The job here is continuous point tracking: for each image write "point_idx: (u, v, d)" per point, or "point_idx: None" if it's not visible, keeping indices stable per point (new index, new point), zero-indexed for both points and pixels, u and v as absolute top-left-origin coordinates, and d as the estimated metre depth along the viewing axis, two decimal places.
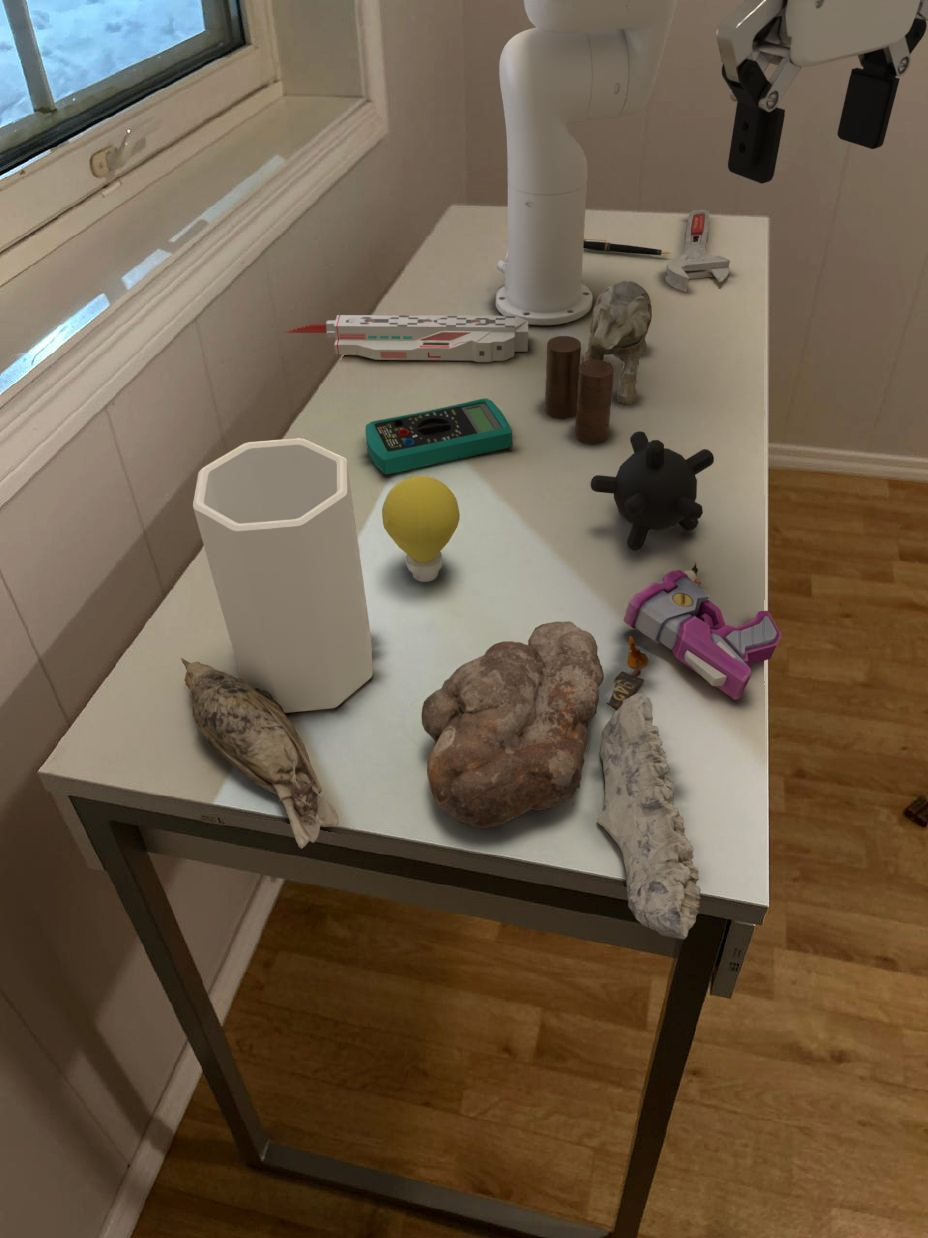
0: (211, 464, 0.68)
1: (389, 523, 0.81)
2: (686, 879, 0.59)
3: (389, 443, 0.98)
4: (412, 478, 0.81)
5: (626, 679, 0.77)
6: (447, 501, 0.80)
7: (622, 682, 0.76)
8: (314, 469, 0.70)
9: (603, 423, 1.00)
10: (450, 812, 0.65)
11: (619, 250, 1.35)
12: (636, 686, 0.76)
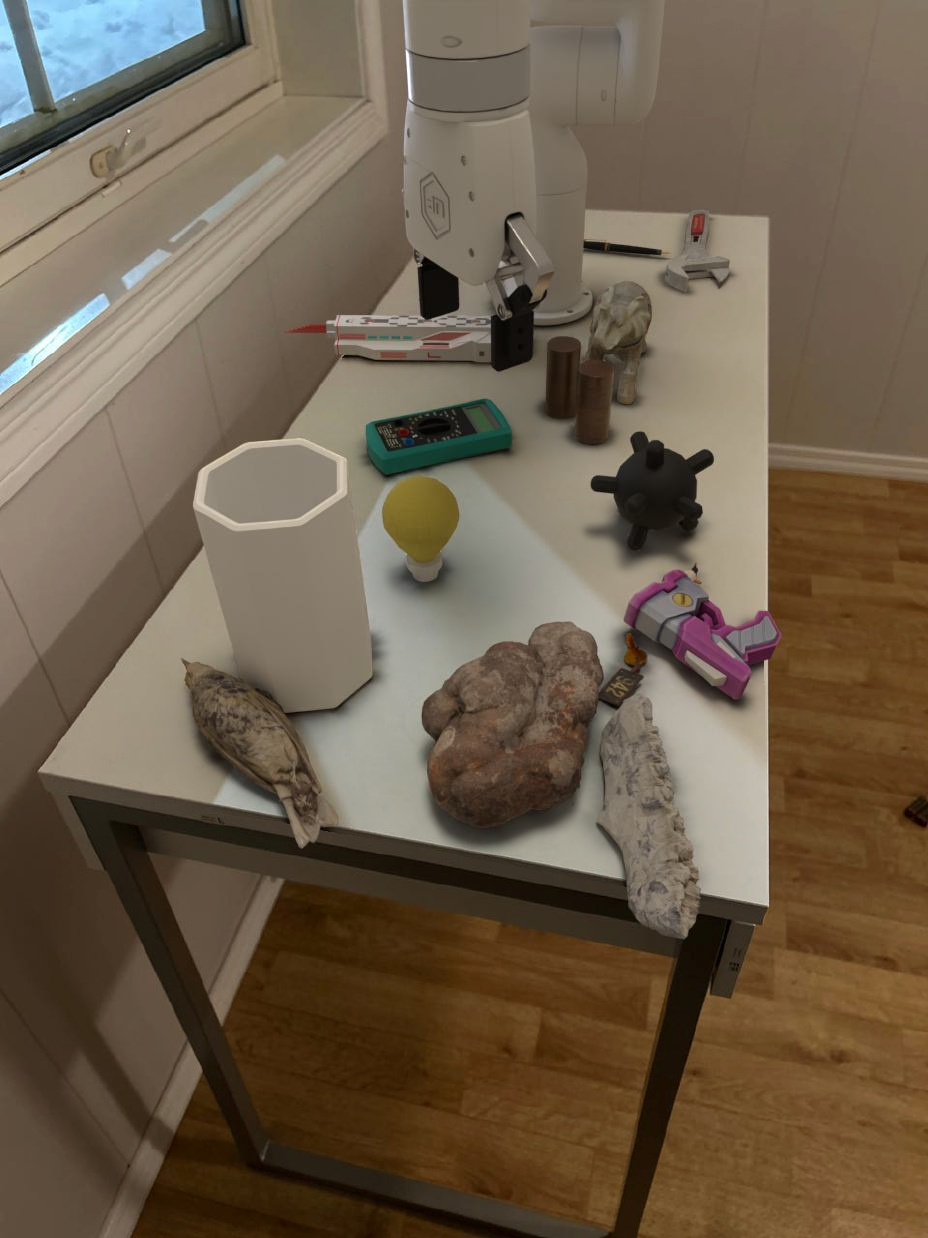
0: (211, 464, 0.68)
1: (389, 523, 0.81)
2: (686, 879, 0.59)
3: (389, 443, 0.98)
4: (412, 478, 0.81)
5: (626, 676, 0.76)
6: (447, 501, 0.80)
7: (621, 679, 0.76)
8: (314, 469, 0.70)
9: (603, 423, 1.00)
10: (450, 812, 0.65)
11: (619, 250, 1.35)
12: (636, 683, 0.75)
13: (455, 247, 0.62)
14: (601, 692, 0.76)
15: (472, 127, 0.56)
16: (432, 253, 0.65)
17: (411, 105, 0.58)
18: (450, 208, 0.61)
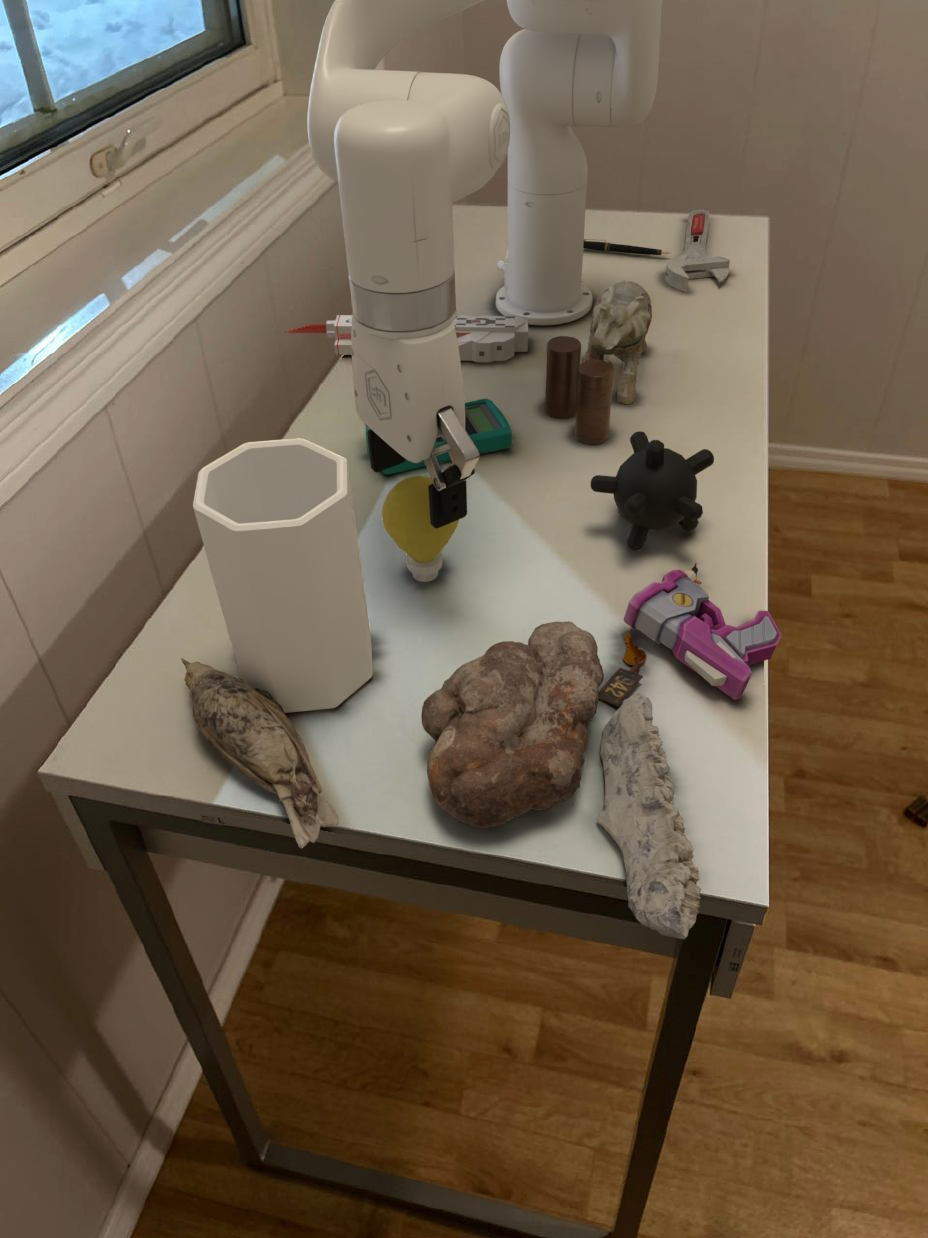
0: (211, 464, 0.68)
1: (389, 523, 0.81)
2: (686, 879, 0.59)
3: None
4: (412, 478, 0.81)
5: (625, 676, 0.76)
6: None
7: (620, 678, 0.76)
8: (314, 469, 0.70)
9: (603, 423, 1.00)
10: (450, 812, 0.65)
11: (619, 250, 1.35)
12: (635, 682, 0.75)
13: (395, 431, 0.72)
14: (600, 692, 0.76)
15: (405, 345, 0.67)
16: (377, 429, 0.75)
17: (355, 320, 0.69)
18: (390, 401, 0.71)
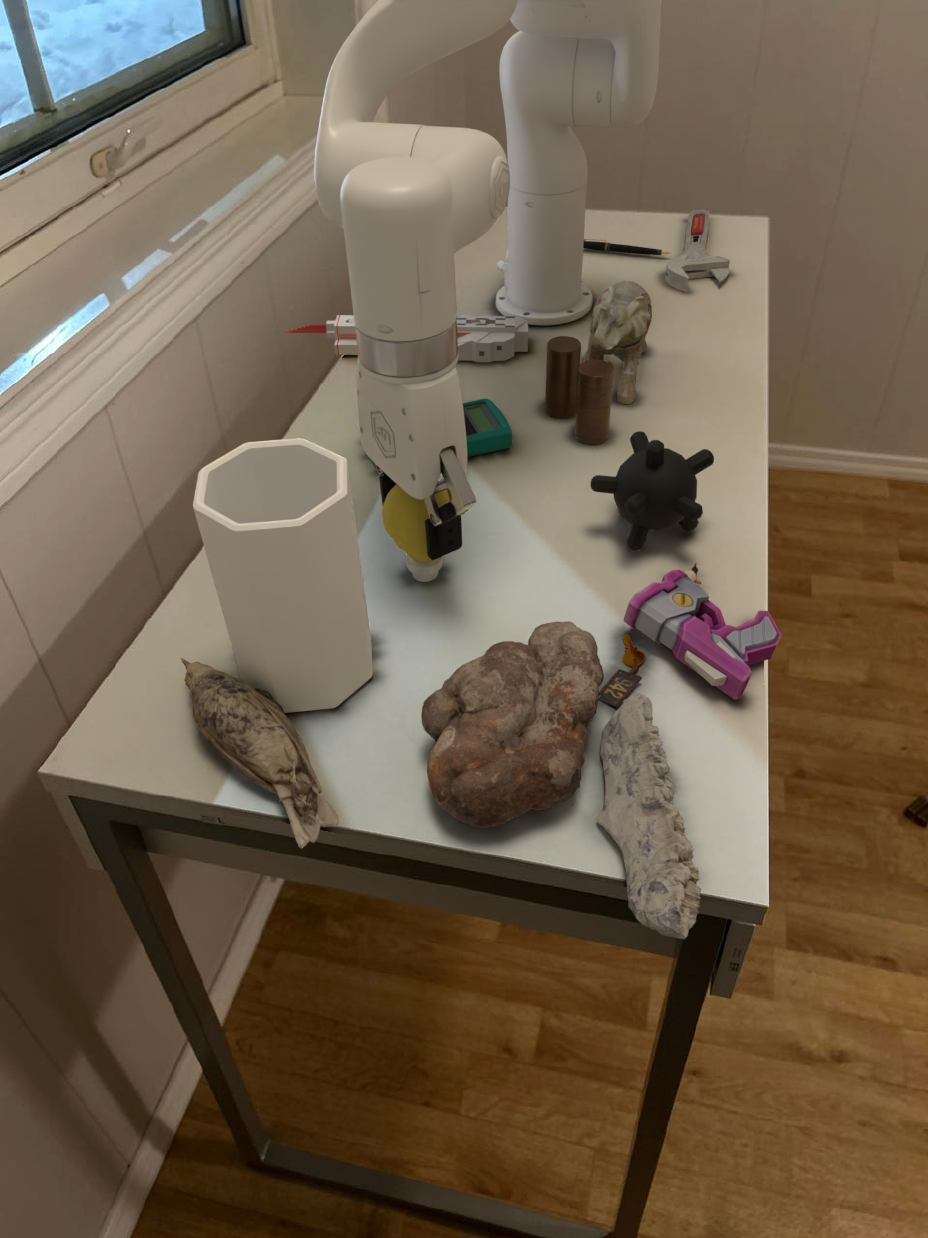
0: (211, 464, 0.68)
1: (389, 523, 0.81)
2: (686, 879, 0.59)
3: None
4: None
5: (624, 677, 0.77)
6: (447, 501, 0.80)
7: (619, 680, 0.76)
8: (314, 469, 0.70)
9: (603, 423, 1.00)
10: (450, 812, 0.65)
11: (619, 250, 1.35)
12: (634, 684, 0.76)
13: (400, 469, 0.75)
14: (599, 693, 0.76)
15: (409, 390, 0.69)
16: (382, 466, 0.78)
17: (360, 364, 0.71)
18: (395, 441, 0.74)
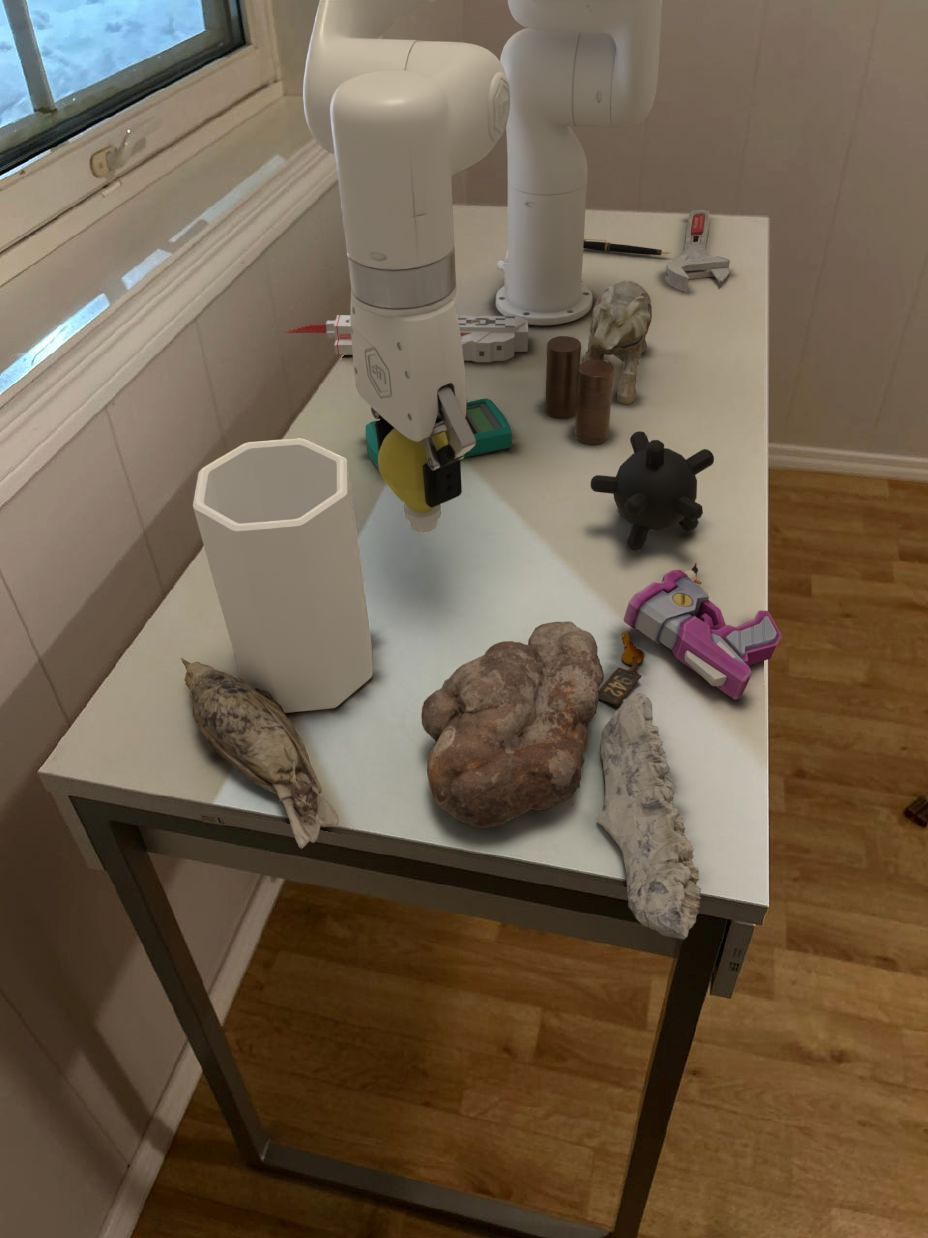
0: (211, 464, 0.68)
1: (385, 469, 0.77)
2: (686, 879, 0.59)
3: None
4: None
5: (623, 675, 0.76)
6: None
7: (619, 678, 0.76)
8: (314, 469, 0.70)
9: (603, 423, 1.00)
10: (450, 812, 0.65)
11: (619, 250, 1.35)
12: (634, 682, 0.75)
13: (396, 409, 0.72)
14: (599, 692, 0.76)
15: (405, 322, 0.66)
16: (378, 407, 0.74)
17: (353, 297, 0.68)
18: (390, 379, 0.70)
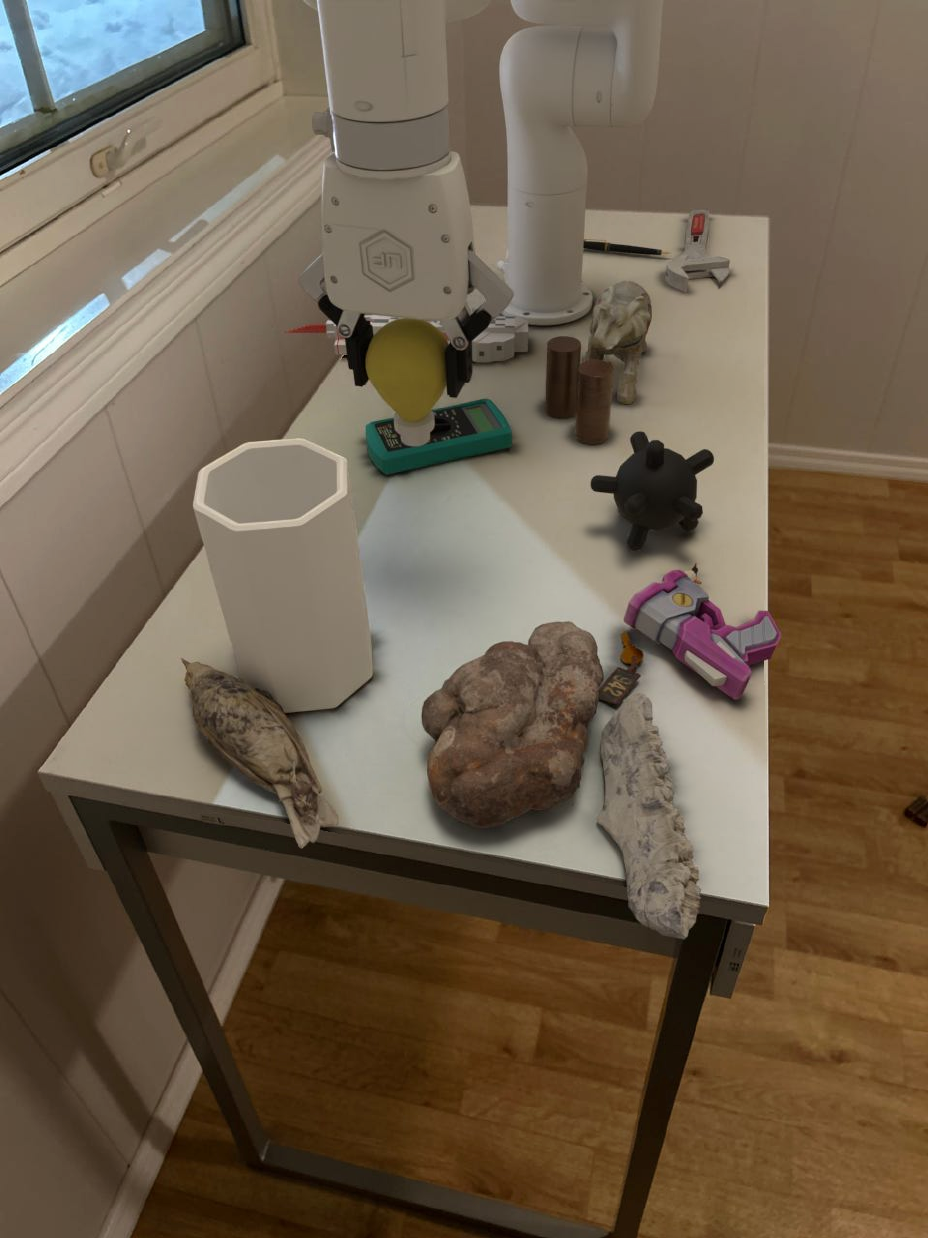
0: (211, 464, 0.68)
1: (398, 377, 0.70)
2: (686, 879, 0.59)
3: (389, 443, 0.98)
4: (392, 323, 0.71)
5: (623, 675, 0.76)
6: (440, 331, 0.72)
7: (618, 678, 0.76)
8: (314, 469, 0.70)
9: (603, 423, 1.00)
10: (450, 812, 0.65)
11: (619, 250, 1.35)
12: (633, 681, 0.76)
13: (421, 291, 0.65)
14: None
15: (440, 176, 0.60)
16: (382, 306, 0.67)
17: (361, 172, 0.60)
18: (414, 257, 0.64)
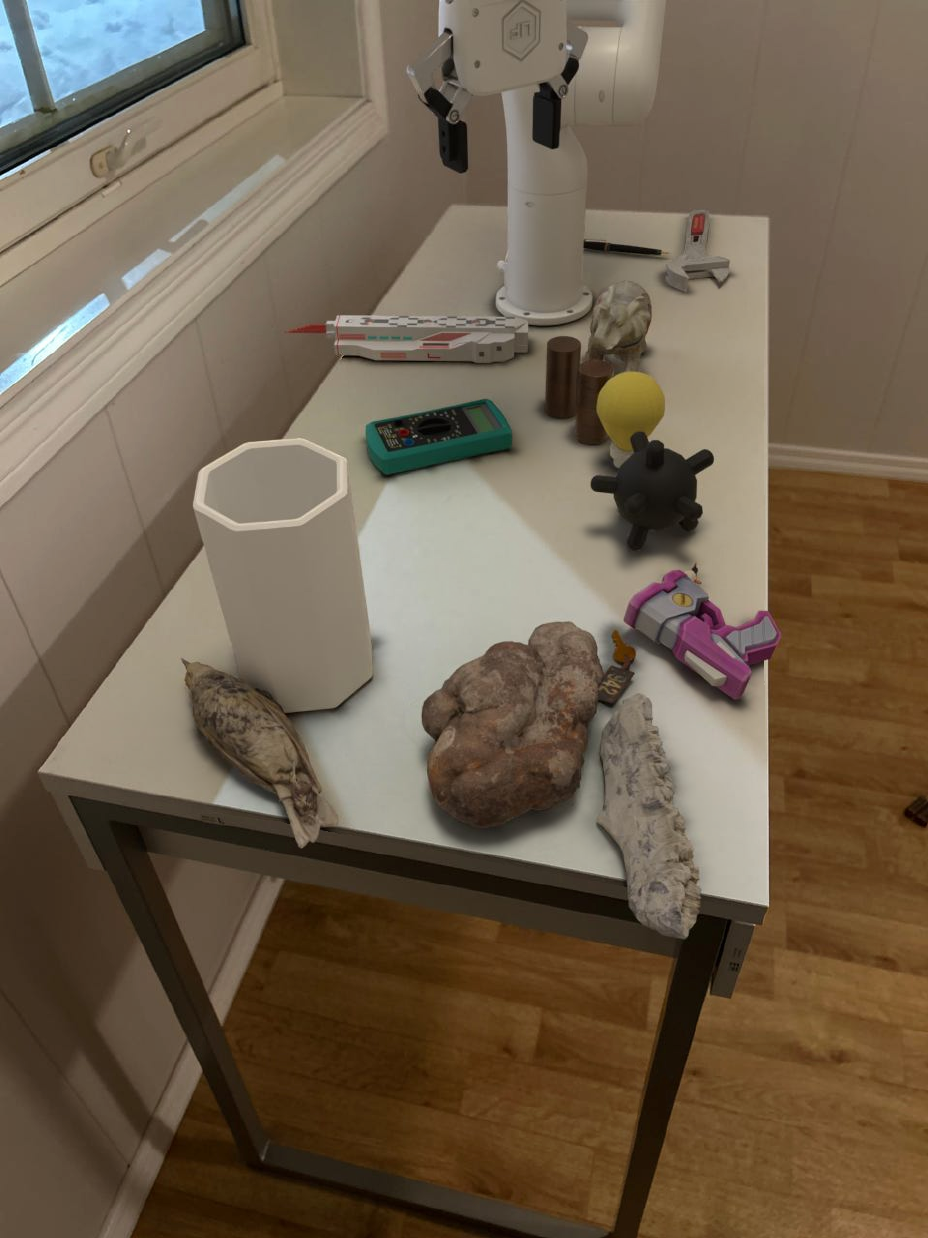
0: (211, 464, 0.68)
1: (655, 413, 0.92)
2: (687, 879, 0.59)
3: (389, 443, 0.98)
4: (623, 380, 0.92)
5: (616, 673, 0.77)
6: None
7: (612, 676, 0.76)
8: (314, 469, 0.70)
9: None
10: (450, 812, 0.65)
11: (619, 250, 1.35)
12: (627, 679, 0.76)
13: (544, 53, 0.78)
14: None
15: None
16: (514, 78, 0.77)
17: None
18: (541, 20, 0.76)
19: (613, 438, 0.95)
